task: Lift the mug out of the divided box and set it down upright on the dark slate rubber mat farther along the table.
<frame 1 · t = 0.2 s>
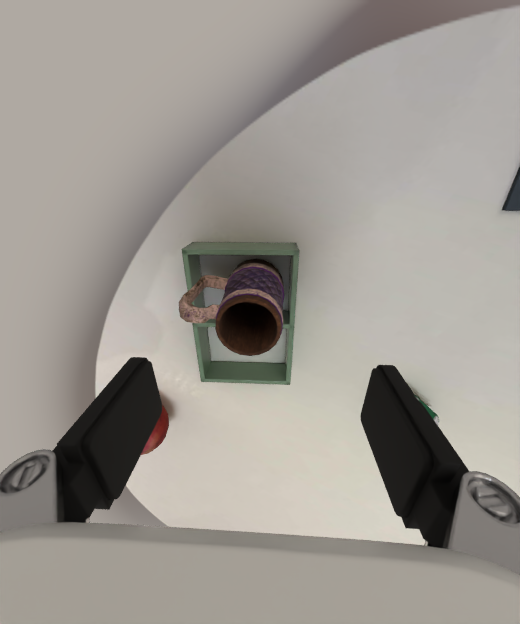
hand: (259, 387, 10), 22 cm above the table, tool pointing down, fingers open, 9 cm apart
mug: (245, 279, 32), resting in divided box
divided box: (246, 311, 34), on the table
fruit: (154, 404, 43), on the table
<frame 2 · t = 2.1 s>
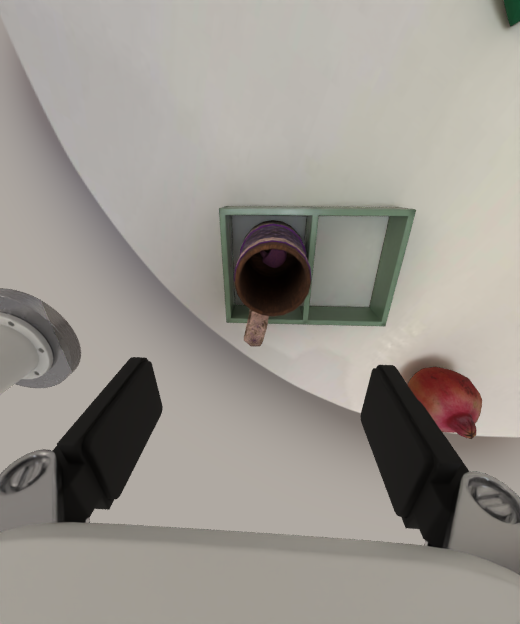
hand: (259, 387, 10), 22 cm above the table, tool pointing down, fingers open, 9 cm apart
mug: (268, 262, 30), resting in divided box
divided box: (305, 263, 30), on the table
fruit: (422, 375, 37), on the table
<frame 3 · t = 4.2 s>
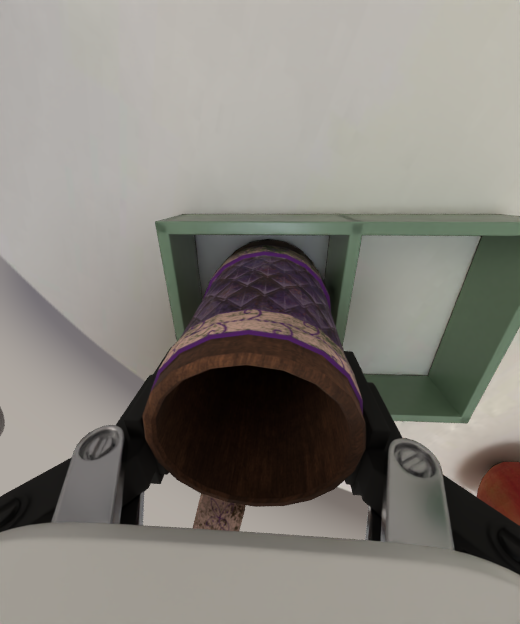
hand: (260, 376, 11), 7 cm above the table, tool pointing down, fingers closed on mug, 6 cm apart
mug: (261, 307, 18), resting in divided box, touching gripper
divided box: (325, 309, 17), on the table
fruit: (496, 464, 24), on the table
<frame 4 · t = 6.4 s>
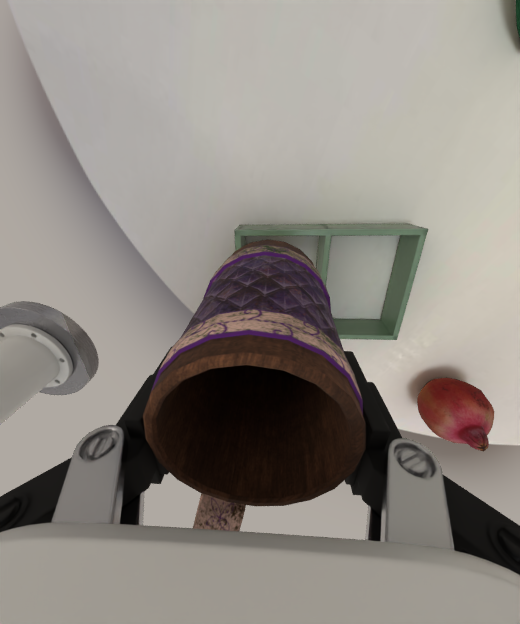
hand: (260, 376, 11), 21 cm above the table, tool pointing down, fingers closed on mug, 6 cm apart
mug: (261, 307, 18), point 14 cm above the table, touching gripper
divided box: (317, 277, 30), on the table
fruit: (433, 385, 37), on the table
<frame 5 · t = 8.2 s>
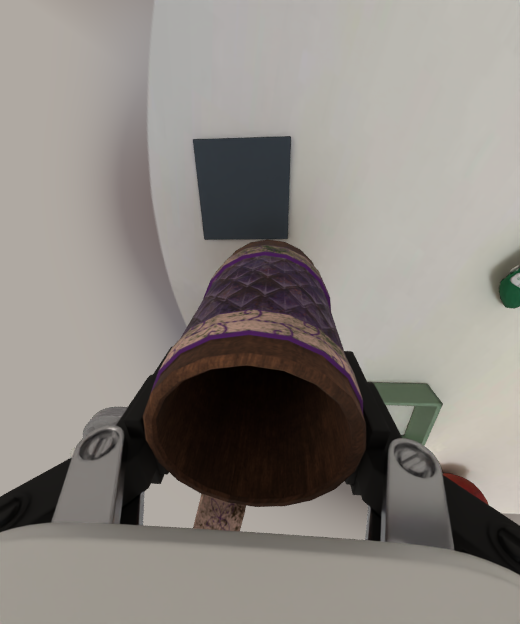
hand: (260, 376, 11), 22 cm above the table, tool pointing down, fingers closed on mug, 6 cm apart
mug: (261, 307, 18), point 14 cm above the table, touching gripper
mat: (244, 192, 27), on the table
divided box: (358, 410, 41), on the table
fruit: (442, 474, 48), on the table
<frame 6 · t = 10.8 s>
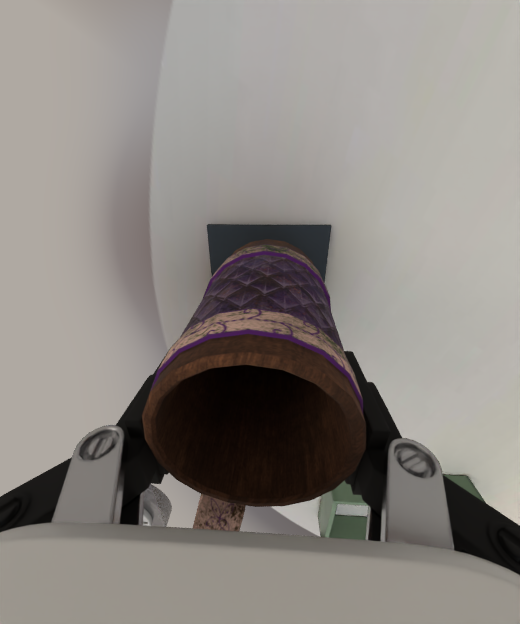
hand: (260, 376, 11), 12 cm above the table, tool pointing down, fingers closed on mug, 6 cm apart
mug: (261, 307, 18), point 5 cm above the table, touching gripper
mat: (267, 282, 22), on the table
divided box: (386, 497, 36), on the table
when the fingers open (8 cm above the table, at t = 12.5 s): mug stays where it is, resting on mat.
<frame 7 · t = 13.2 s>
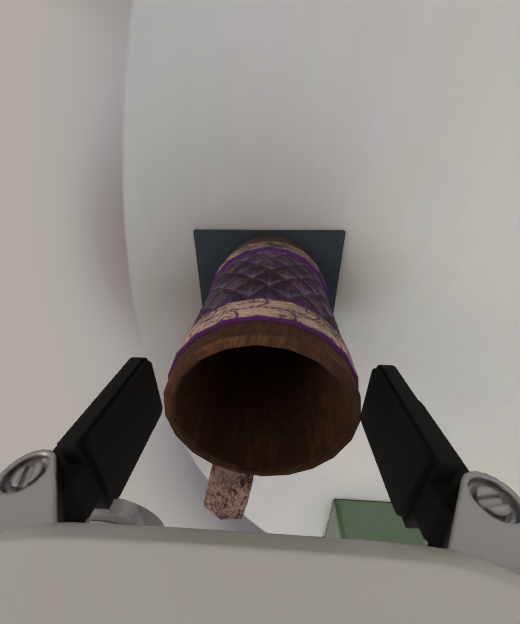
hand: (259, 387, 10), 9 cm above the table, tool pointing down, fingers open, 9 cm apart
mug: (262, 301, 19), resting on mat
mat: (267, 298, 19), on the table
divided box: (398, 528, 33), on the table
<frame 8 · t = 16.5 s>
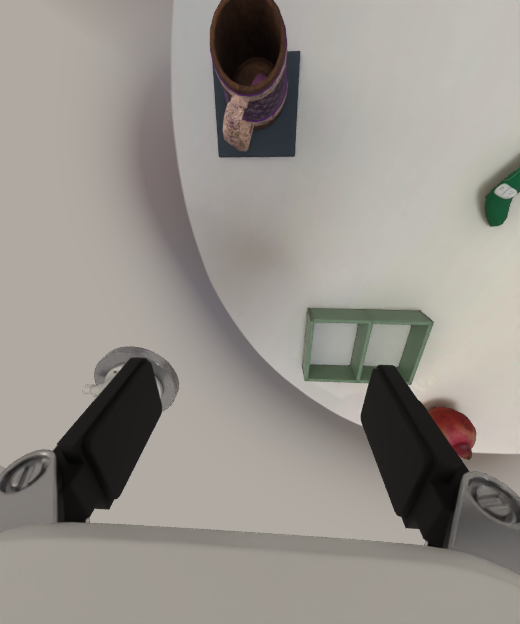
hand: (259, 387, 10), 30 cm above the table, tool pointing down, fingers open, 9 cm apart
mug: (253, 110, 30), resting on mat
mat: (256, 109, 30), on the table
divided box: (356, 340, 44), on the table
fruit: (434, 410, 51), on the table
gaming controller: (511, 185, 33), on the table
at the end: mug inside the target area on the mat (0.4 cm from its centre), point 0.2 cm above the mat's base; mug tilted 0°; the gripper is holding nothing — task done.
